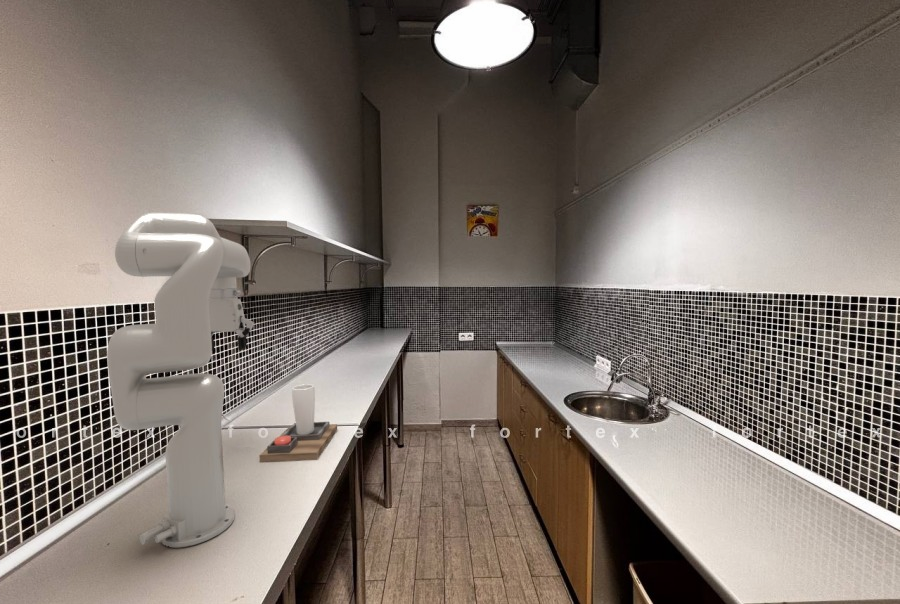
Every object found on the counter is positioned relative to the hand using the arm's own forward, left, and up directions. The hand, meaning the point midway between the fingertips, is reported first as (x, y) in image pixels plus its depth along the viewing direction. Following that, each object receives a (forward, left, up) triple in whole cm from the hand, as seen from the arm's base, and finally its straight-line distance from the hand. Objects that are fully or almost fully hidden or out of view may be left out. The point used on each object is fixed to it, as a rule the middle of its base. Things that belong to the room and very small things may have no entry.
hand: (226, 350), depth 116 cm
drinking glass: (+13, -18, -28) cm, 36 cm away
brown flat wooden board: (+10, -20, -30) cm, 38 cm away
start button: (+2, -21, -28) cm, 35 cm away
